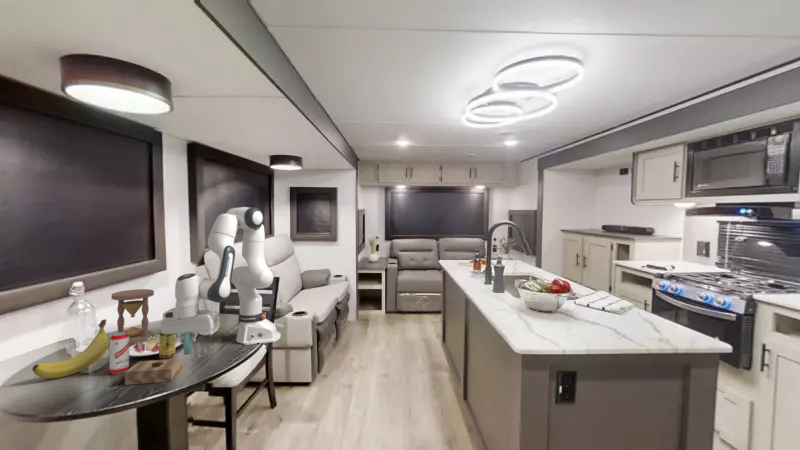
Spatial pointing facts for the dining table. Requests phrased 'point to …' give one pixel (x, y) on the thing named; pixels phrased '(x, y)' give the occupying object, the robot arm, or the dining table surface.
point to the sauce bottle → (167, 345)
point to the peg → (187, 343)
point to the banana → (76, 358)
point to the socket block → (154, 371)
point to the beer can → (119, 353)
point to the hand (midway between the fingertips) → (188, 341)
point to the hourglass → (134, 312)
